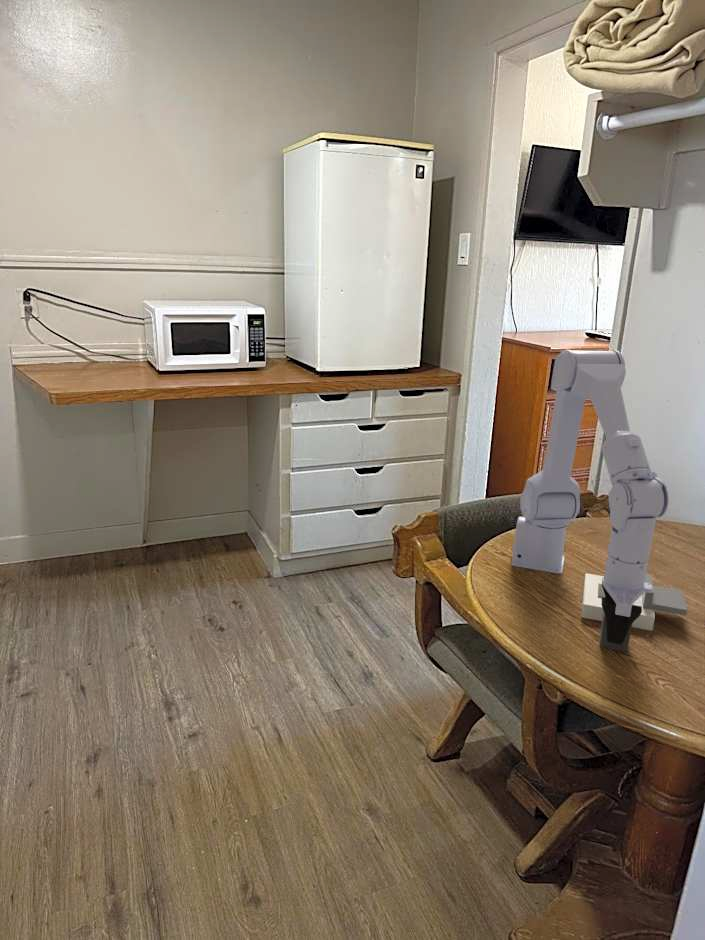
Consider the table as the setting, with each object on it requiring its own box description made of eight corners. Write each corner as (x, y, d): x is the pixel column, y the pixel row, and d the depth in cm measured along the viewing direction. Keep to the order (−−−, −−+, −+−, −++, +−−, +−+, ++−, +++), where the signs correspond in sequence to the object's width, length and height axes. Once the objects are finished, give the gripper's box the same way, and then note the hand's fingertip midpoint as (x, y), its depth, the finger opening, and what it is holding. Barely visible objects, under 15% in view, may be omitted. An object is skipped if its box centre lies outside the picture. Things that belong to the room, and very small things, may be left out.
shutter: (642, 607, 111) (645, 591, 110) (641, 588, 117) (643, 573, 116) (686, 615, 109) (689, 599, 108) (681, 595, 115) (685, 580, 114)
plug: (599, 646, 104) (605, 608, 102) (599, 633, 108) (605, 596, 106) (627, 652, 103) (633, 613, 101) (626, 638, 107) (633, 601, 105)
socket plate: (581, 617, 112) (583, 604, 112) (583, 585, 123) (585, 573, 122) (652, 630, 109) (654, 617, 108) (648, 596, 120) (650, 584, 119)
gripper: (660, 581, 93) (644, 665, 97) (654, 541, 106) (640, 617, 110) (606, 572, 95) (593, 655, 100) (606, 534, 108) (594, 608, 112)
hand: (614, 634), depth 105 cm, fingers closed on plug, 4 cm apart
